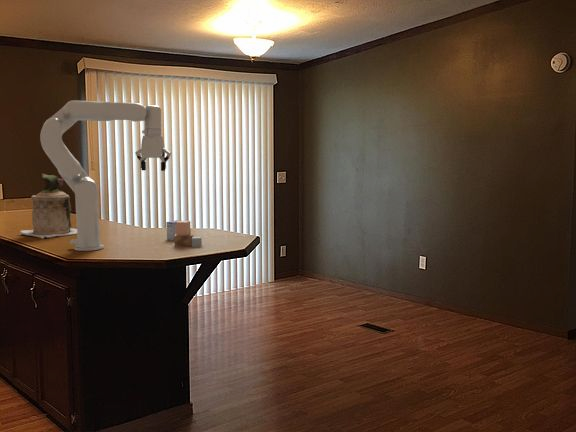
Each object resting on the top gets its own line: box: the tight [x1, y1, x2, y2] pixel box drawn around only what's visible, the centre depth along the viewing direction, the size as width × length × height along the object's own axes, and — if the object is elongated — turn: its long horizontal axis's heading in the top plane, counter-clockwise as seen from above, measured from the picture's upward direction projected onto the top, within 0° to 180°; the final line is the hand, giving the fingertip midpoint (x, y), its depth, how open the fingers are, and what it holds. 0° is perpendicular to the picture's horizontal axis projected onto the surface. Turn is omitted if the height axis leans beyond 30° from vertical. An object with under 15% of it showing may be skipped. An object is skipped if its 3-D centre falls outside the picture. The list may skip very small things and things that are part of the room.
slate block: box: [191, 236, 203, 248], centre depth 260 cm, size 4×4×4 cm
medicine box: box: [165, 219, 181, 241], centre depth 282 cm, size 8×4×9 cm, turn 149°
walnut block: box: [173, 232, 194, 247], centre depth 264 cm, size 8×8×5 cm
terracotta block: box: [176, 220, 192, 236], centre depth 263 cm, size 5×5×6 cm
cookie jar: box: [19, 173, 77, 239], centre depth 302 cm, size 25×25×32 cm
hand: (153, 170), depth 265 cm, fingers open, 9 cm apart
